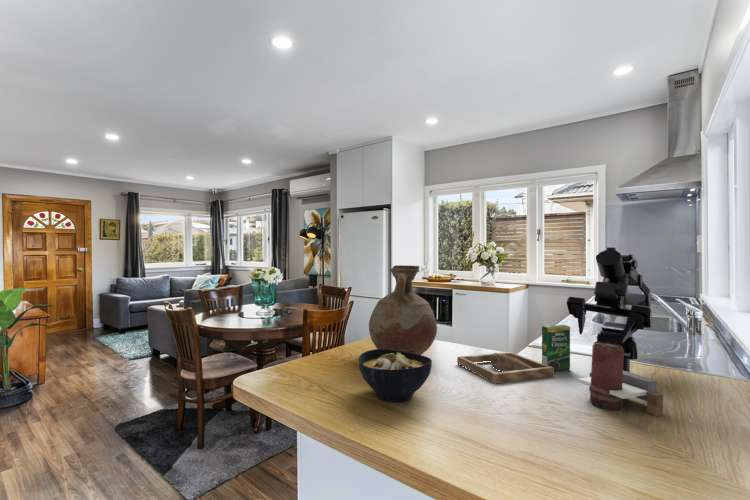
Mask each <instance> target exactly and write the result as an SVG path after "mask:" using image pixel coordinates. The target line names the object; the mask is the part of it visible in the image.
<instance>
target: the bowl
mask: <svg viewBox="0 0 750 500" xmlns="http://www.w3.org/2000/svg"><path fill="white" fill-rule="evenodd" d="M432 362H433V360H432V359H431V358H430V357H427V356H426V355H423V354H422V355H418V354H413V353H407V352H401V351H396V350H389V349H377V348H376V349H370V350H367V351H363V352H362V353H361V354H360V355H359V357H358V369H359V370H360V372H361V376H362V378H363V379H364V380H365V382H366V384H367V385H368V386H369V387H370V388H371V389H372V390H373V391H374V393H375V395H376V397H377V398H378V399H379V400H382V401H384V402H390V403H402V402H407V401H409V400H411V399H412V398H413V396H414V394H415V393H416V392H417V391H418V390H419V389H420V388H421V387H422V386H423V385H424V384H425V383H426V382H427V379H428V378H429V376H430V374H431V370H432Z"/></svg>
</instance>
